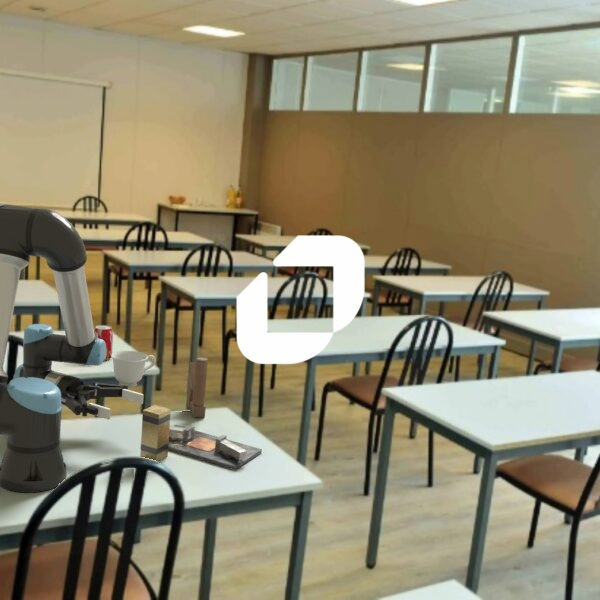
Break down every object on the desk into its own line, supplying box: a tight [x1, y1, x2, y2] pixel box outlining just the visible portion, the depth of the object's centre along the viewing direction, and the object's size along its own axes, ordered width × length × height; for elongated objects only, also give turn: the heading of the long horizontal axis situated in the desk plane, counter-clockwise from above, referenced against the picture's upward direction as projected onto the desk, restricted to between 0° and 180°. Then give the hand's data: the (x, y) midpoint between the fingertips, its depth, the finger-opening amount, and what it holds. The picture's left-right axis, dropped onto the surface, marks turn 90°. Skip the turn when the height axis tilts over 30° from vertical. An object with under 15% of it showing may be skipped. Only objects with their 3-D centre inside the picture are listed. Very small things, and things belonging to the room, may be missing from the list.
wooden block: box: [186, 356, 209, 418], centre depth 227 cm, size 4×11×18 cm, turn 20°
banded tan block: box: [139, 404, 172, 462], centre depth 192 cm, size 5×5×13 cm
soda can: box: [94, 324, 114, 362], centre depth 271 cm, size 7×7×12 cm
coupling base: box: [168, 424, 262, 471], centre depth 202 cm, size 29×14×4 cm, turn 65°
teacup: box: [111, 350, 157, 388], centre depth 247 cm, size 12×15×10 cm
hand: (126, 406), depth 195 cm, fingers open, 13 cm apart
